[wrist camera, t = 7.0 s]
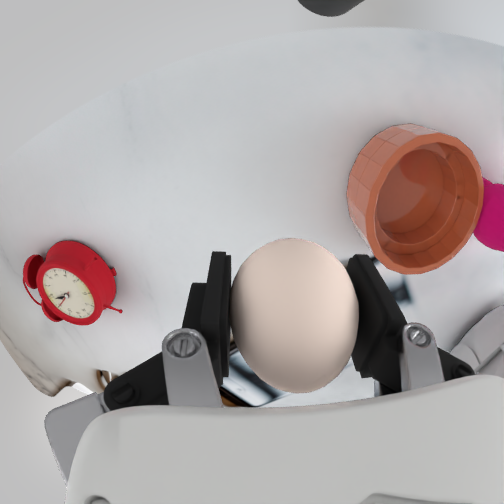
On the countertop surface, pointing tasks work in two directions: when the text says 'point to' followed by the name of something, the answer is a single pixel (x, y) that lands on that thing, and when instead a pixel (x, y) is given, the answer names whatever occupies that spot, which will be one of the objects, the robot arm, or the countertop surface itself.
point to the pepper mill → (491, 217)
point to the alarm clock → (71, 283)
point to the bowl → (415, 197)
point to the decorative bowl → (484, 344)
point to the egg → (294, 315)
